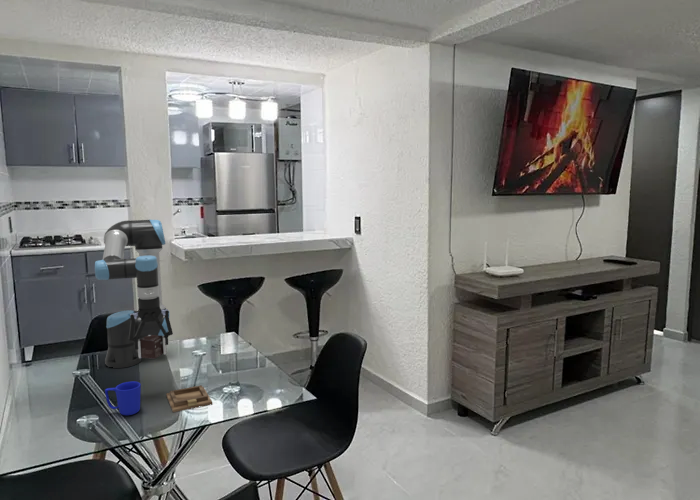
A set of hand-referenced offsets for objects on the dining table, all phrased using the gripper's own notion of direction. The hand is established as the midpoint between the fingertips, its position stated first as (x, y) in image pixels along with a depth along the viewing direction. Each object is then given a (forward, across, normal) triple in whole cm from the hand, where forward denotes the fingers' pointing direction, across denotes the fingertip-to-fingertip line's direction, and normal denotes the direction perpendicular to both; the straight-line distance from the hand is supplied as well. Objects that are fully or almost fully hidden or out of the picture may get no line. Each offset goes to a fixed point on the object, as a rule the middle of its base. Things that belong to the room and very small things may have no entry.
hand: (152, 355), depth 197 cm
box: (+1, 0, 0) cm, 1 cm away
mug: (+16, -12, -10) cm, 23 cm away
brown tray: (+16, +11, -10) cm, 22 cm away
